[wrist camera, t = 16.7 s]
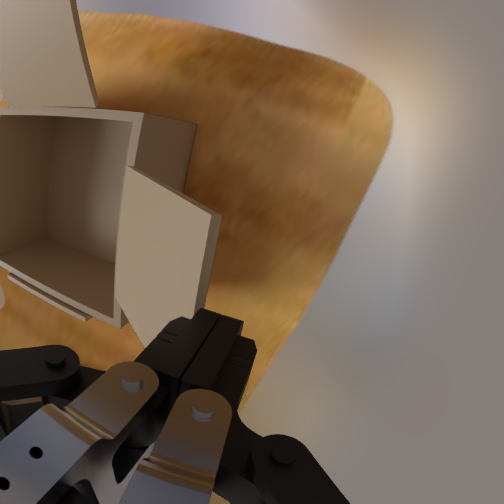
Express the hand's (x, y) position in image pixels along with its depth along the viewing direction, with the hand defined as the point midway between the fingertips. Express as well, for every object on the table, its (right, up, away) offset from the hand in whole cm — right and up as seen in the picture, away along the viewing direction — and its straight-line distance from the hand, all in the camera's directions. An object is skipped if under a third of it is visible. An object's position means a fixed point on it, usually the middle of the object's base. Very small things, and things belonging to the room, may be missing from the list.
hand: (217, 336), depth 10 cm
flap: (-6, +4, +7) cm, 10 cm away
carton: (-12, +8, +16) cm, 22 cm away
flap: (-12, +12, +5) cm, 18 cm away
